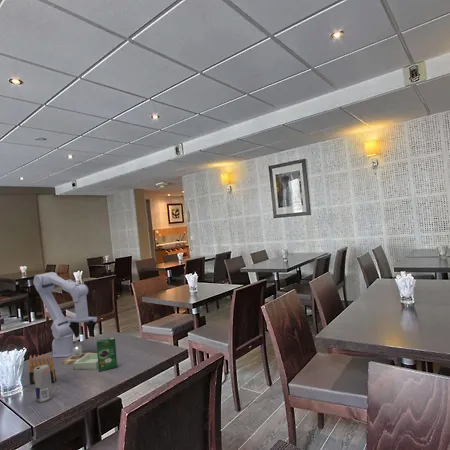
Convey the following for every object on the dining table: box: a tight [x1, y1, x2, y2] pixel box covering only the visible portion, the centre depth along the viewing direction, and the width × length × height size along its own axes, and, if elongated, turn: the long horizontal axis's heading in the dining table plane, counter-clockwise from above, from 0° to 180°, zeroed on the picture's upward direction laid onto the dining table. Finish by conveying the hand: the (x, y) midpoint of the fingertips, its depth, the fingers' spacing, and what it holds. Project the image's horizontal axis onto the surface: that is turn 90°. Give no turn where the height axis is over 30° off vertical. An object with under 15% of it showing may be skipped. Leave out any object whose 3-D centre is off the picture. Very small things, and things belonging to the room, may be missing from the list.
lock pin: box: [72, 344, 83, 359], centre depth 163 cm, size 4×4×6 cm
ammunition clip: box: [28, 353, 57, 386], centre depth 141 cm, size 11×2×12 cm, turn 84°
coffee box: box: [96, 336, 118, 372], centre depth 148 cm, size 8×3×13 cm, turn 110°
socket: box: [61, 352, 94, 365], centre depth 163 cm, size 10×10×2 cm
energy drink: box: [34, 364, 54, 403], centre depth 126 cm, size 5×5×12 cm
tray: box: [72, 352, 99, 371], centre depth 155 cm, size 11×11×3 cm
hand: (84, 336), depth 167 cm, fingers open, 7 cm apart
